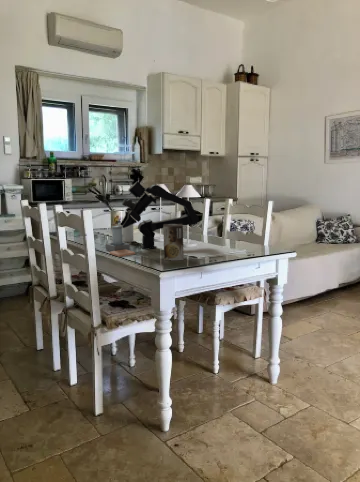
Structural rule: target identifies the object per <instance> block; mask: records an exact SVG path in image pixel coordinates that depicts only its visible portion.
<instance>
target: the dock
mask: <svg viewBox="0 0 360 482" xmlns="http://www.w3.org/2000/svg"><path fill="white" fill-rule="evenodd" d="M122 242H123V241H122ZM105 250H106V251H109V255H111V256H112V255H113V256H116V257H118V258H120V257H125V256H126V255H127V256H132V255H136V251H134V250H133V251H132V250H131V243H129V242H123V245H118V246H114V245H113V242H109V243H105Z"/></svg>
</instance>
